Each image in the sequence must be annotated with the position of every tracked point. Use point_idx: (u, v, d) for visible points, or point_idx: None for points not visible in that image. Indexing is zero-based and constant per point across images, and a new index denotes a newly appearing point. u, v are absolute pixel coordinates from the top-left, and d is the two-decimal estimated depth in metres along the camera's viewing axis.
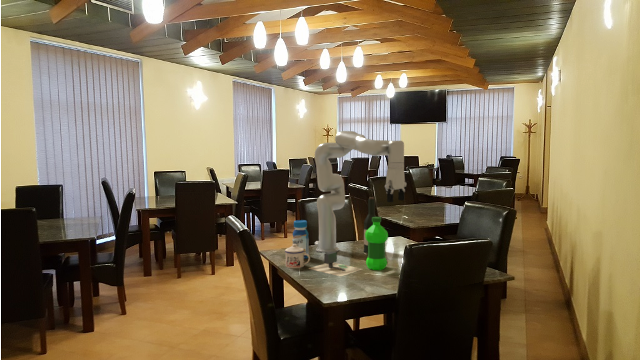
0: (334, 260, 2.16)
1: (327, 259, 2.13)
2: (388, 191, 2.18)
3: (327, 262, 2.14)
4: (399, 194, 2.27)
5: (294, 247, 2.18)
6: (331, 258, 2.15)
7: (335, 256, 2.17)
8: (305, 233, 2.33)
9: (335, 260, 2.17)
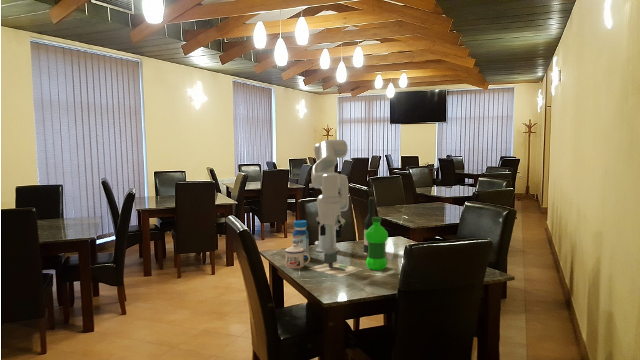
0: (334, 260, 2.16)
1: (327, 259, 2.13)
2: (343, 226, 2.10)
3: (327, 262, 2.14)
4: (322, 229, 2.17)
5: (294, 247, 2.18)
6: (331, 258, 2.15)
7: (335, 256, 2.17)
8: (305, 233, 2.33)
9: (335, 260, 2.17)
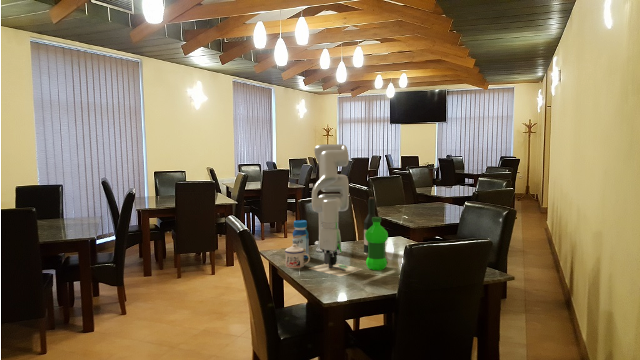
0: None
1: (327, 259, 2.13)
2: None
3: (327, 262, 2.14)
4: None
5: (294, 247, 2.18)
6: None
7: None
8: (305, 233, 2.33)
9: None
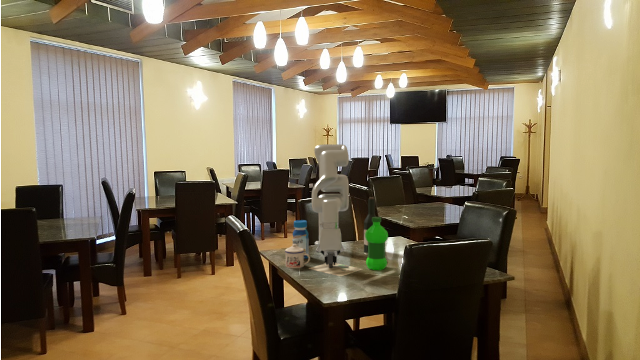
0: (333, 259, 2.17)
1: (331, 259, 2.13)
2: None
3: (331, 262, 2.13)
4: None
5: (294, 247, 2.18)
6: None
7: (333, 255, 2.18)
8: (305, 233, 2.33)
9: (333, 259, 2.18)
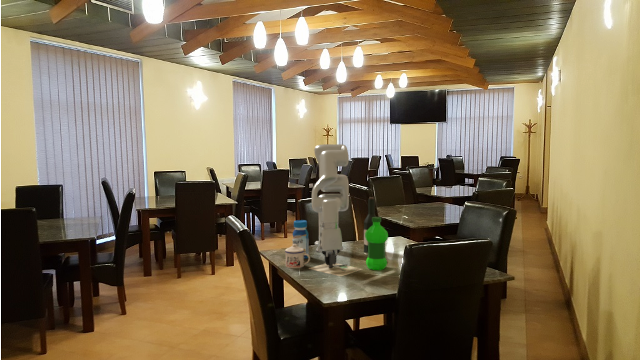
0: None
1: (334, 259, 2.14)
2: None
3: (334, 262, 2.14)
4: None
5: (294, 247, 2.18)
6: None
7: None
8: (305, 233, 2.33)
9: None
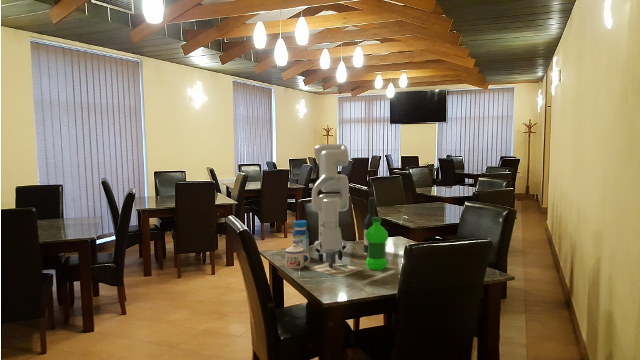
0: None
1: (334, 259, 2.14)
2: None
3: (334, 262, 2.14)
4: None
5: (294, 247, 2.18)
6: None
7: None
8: (305, 233, 2.33)
9: None
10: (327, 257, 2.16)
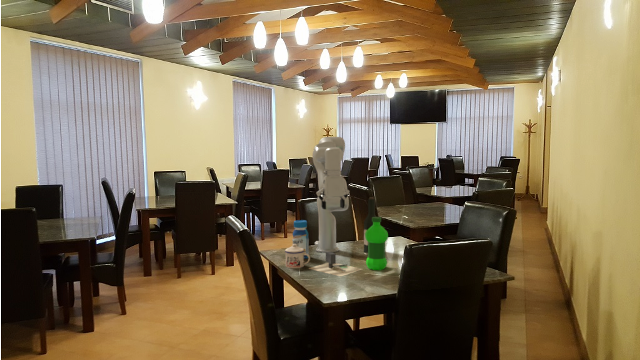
0: None
1: (334, 259, 2.14)
2: None
3: (334, 262, 2.14)
4: None
5: (294, 247, 2.18)
6: None
7: None
8: (305, 233, 2.33)
9: None
10: (327, 257, 2.16)
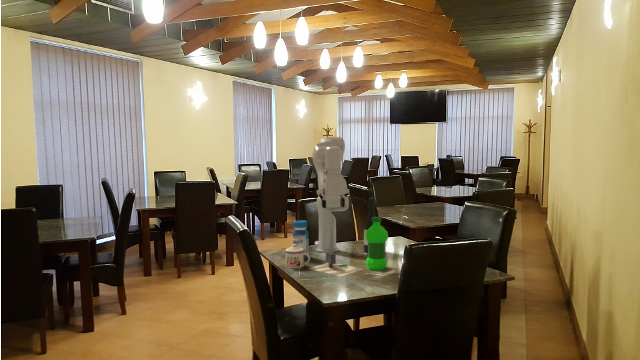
0: None
1: (334, 259, 2.14)
2: None
3: (334, 262, 2.14)
4: None
5: (294, 247, 2.18)
6: None
7: None
8: (305, 233, 2.33)
9: None
10: (327, 257, 2.16)
